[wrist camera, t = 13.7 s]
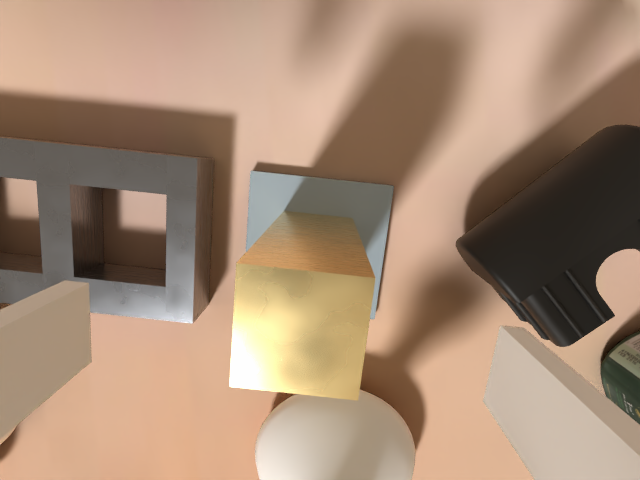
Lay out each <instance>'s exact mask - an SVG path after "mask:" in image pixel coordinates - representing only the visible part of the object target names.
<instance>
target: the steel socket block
mask: <svg viewBox="0 0 640 480" xmlns="http://www.w3.org/2000/svg"><path fill="white" fill-rule="evenodd" d="M0 177H7V178H16V179H25V180H35V181H37V195H38V210H39V225H40V239H41V254H42V257H41V256H32V255H23V254H13V253H4V252H0V303H8V304H14V303H16V302H18V301H20V300H23V299H25V298H27V297H29V296H31V295H34V294H36V293H38V292H40V291H43V290H45V289H47V288H49V287H51V286H54V285H56V284H58V283H60V282H62V281H65V280H66V281H75V282H85V283H89V299H90V312H91V313H100V314H110V315H119V316H128V317H137V318H146V319H156V320H165V321H174V322H183V323H194V321H195V320H196V319H197V318H198V317H199V315H200V314H201V313H202V312H203V311H204V309H205V308H206V307H207V306H208V305H209V283H210V257H211V231H212V204H213V178H214V158H204V157H195V156H185V155H176V154H166V153H157V152H148V151H138V150H129V149H119V148H110V147H100V146H91V145H81V144H72V143H63V142H53V141H44V140H34V139H25V138H15V137H6V136H0ZM102 188H110V189H119V190H129V191H138V192H147V193H157V194H166V195H167V214H166V270H162V269H153V268H144V267H134V266H125V265H116V264H106V263H104V239H103V204H102Z"/></svg>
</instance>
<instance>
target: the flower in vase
mask: <svg viewBox="0 0 640 480" xmlns="http://www.w3.org/2000/svg"><path fill="white" fill-rule="evenodd" d="M255 461H256V465H257V470H258V475H259V479H260V480H412V475H413V470H414V465H415V445H414V441H413V437H412V434H411V432H410V430H409V427H408V426H407V424H406V423H405V421H404V419H403V418H402V417H401V416H400V414H399V413H398V412H397V411H396V410H395V409H394V408H393V407H392V406H390V405H389V404H388V403H386V402H385V401H384V400H382V399H380V398H379V397H377V396H375V395H373V394H371V393H368V392H365V391H363V390H360V391H359V397H358V401H357V400H347V399H338V398H329V397H320V396H311V395H301V394H295V395H293V396H291V397H289V398H288V399H286V400H285V401H283V402H282V403H280V404H279V405H278V406H277V407H276V408H275V409H274V410H273V411H272V412H271V413H270V414H269V415H268V416H267V418H266V419H265V421H264V423H263V424H262V426H261V428H260V431H259V433H258V436H257V440H256V446H255Z"/></svg>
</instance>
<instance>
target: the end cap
mask: <svg viewBox="0 0 640 480" xmlns="http://www.w3.org/2000/svg"><path fill="white" fill-rule="evenodd" d="M456 247H457V250H458V252H459V253H460V255H461V256H462V258H463V259H464V261H465V262H466V263H467V265H468V266H469V267H470V269H471V270H472V271H474V272H475V273H476V274H477V275H479V276H480V277H481V278H483V279H484V280H485V281H486V282H488V283H489V284H490V285H492V287H493V288H494V289H495V290H496V292H497V293H498V294H499V295H500V297H501V298H502V299H503V300H504V301H505V302H507V304H508V305H509V306H510V307H511V309H512V310H513V311H514V313H515V314H516V315H517V316H518V318H519V319H520V320H521V321H525V322H528V323H529V324H531V325H532V326H533V327H534V329H535V330H536V331H537V332H538V334H539V335H540V336H541V338H543V339H546V340H550V341H551V342H553V343H554V344H555V345H557V346H560V347H566V346H569V345H571V344H573V343H575V342H576V341H578V340H579V339H581V338H582V337H584V336H585V335H587V334H588V333H590V332H591V331H593V330H594V329H596V328H597V327H599V326H600V325H602V324H603V323H605V322H606V321H608V320H609V319H611V318H612V317H614V316H615V315H614V313H613V312H612V311H611V309H610V308H609V307H608V305H607V304H606V302H605V301H604V300H603V298H602V297H601V296H600V294H599V292H598V291H597V287H596V274H597V272H598V269H599V267H600V266H601V264H602V263H603V262H604V260H605V259H606V258H608V257H609V256H610V255H612V254H613V253H615V252H617V251H620V250H624V249H637V250H638V251H640V127H637V126H631V125H615V126H610V127H606V128H605V129H603V130H601V131H599V132H598V133H596V134H595V135H594V136H593V137H591V138H590V139H589V140H587V141H586V142H585V143H583V144H582V145H581V146H579V147H578V148H577V149H576V150H574V151H573V152H572V153H570V154H569V155H568V156H566V157H565V158H564V159H562V160H561V161H560V162H559V163H557V164H556V165H555V166H553V167H552V168H551V169H549V170H548V171H547V172H545V173H544V174H543V175H541V176H540V177H539V178H538V179H536V180H535V181H534V182H532V183H531V184H530V185H528V186H527V187H526V188H524V189H523V190H522V191H521V192H519V193H518V194H517V195H515V196H514V197H513V198H511V199H510V200H509V201H507V202H506V203H505V204H504V205H502V206H501V207H500V208H498V209H497V210H496V211H494V212H493V213H492V214H490V215H489V216H488V217H487V218H485V219H484V220H483V221H481V222H480V223H479V224H477V225H476V226H475V227H473V228H472V229H471V230H469V231H468V232H467V233H466V234H464V235H463V236H462V237H460V238H459V239H458V240H457V241H456Z"/></svg>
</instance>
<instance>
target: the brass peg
mask: <svg viewBox="0 0 640 480" xmlns="http://www.w3.org/2000/svg"><path fill="white" fill-rule="evenodd" d="M375 279H376V278H375V275H374V272H373V270H372V267H371V265H370V262H369V259H368V257H367V254H366V252H365V249H364V246H363V244H362V241H361V239H360V236H359V233H358V231H357V228H356V226H355V223H354V220H353V218H348V217H339V216H329V215H320V214H311V213H301V212H292V211H283V212H282V213H281V215H280V216H279V217H278V218H277V219H276V220H275V221H274V222H273V223H272V224H271V226H270V227H269V228H268V229H267V230H266V231H265V232H264V233H263V234H262V235H261V236H260V238H259V239H258V240H257V241H256V242H255V243H254V244H253V245H252V246H251V247H250V249H249V250H248V251H247V252H246V253H245V254H244V255H243V256H242V257H241V258H240V260H239V261H238V262H237V263H236V277H235V295H234V314H233V332H232V351H231V369H230V387H237V388H246V389H256V390H265V391H274V392H283V393H292V394H301V395H311V396H320V397H329V398H338V399H347V400H357V401H358V397H359V391H360V384H361V377H362V370H363V363H364V356H365V349H366V342H367V335H368V328H369V321H370V314H371V307H372V300H373V293H374V286H375Z"/></svg>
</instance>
